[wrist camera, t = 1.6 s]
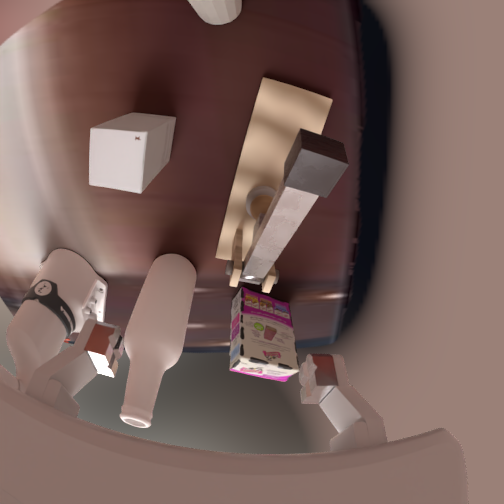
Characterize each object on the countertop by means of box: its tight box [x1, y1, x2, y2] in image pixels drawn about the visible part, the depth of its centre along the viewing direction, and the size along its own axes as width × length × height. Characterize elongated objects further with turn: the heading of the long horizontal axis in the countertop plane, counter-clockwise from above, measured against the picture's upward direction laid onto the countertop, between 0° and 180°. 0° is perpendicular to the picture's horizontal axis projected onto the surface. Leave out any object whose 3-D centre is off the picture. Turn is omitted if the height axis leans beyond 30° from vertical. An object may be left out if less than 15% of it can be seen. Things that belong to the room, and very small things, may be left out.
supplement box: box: [89, 113, 176, 193], centre depth 31 cm, size 7×7×13 cm
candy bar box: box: [229, 287, 300, 382], centre depth 49 cm, size 11×5×16 cm, turn 63°
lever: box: [239, 128, 349, 285], centre depth 30 cm, size 24×4×5 cm, turn 167°
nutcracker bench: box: [216, 77, 332, 293], centre depth 36 cm, size 30×10×12 cm, turn 165°
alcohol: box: [120, 254, 197, 428], centre depth 38 cm, size 9×9×30 cm
